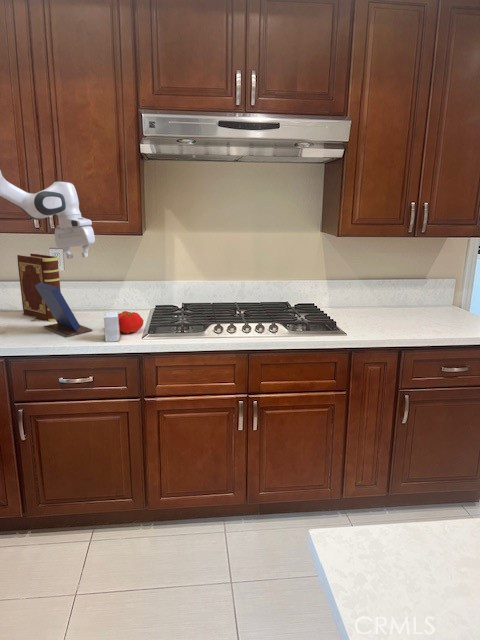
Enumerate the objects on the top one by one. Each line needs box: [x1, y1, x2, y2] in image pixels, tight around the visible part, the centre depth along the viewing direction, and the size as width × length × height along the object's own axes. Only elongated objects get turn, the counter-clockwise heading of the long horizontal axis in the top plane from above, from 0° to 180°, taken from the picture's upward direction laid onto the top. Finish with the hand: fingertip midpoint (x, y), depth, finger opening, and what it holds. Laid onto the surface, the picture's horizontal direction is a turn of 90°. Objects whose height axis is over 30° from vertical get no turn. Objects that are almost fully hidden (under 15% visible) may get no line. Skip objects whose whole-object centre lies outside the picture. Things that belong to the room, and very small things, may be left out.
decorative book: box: [16, 253, 62, 323], centre depth 223 cm, size 22×8×30 cm, turn 58°
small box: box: [103, 312, 121, 343], centre depth 193 cm, size 8×6×10 cm
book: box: [35, 282, 82, 331], centre depth 201 cm, size 3×15×21 cm, turn 50°
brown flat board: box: [43, 322, 93, 338], centre depth 206 cm, size 12×20×1 cm, turn 48°
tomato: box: [118, 310, 144, 334], centre depth 204 cm, size 13×12×8 cm
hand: (77, 257), depth 189 cm, fingers open, 8 cm apart
